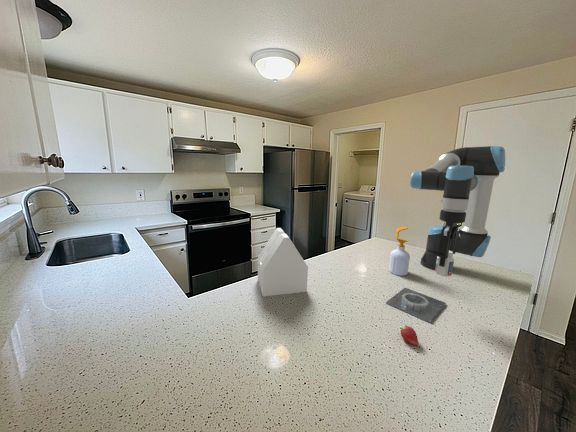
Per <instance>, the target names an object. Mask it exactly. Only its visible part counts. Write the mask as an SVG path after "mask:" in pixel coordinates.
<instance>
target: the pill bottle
mask: <svg viewBox="0 0 576 432" xmlns="http://www.w3.org/2000/svg"><path fill="white" fill-rule="evenodd" d="M453 256H454V254H453V252H452V251H449V253H448V263H447V269H446V275H445V276H444V275H441V274H438V273H436V272H437V266H438V260H439V257H438V256H437V261H436V268H435V270H434V272H435V274H436V275H439V276H441V277H447V278H449V277H451V276H452V275H453V269H454V265H455V264H454V263H455V258H453Z"/></svg>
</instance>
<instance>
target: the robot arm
mask: <svg viewBox="0 0 576 432" xmlns="http://www.w3.org/2000/svg"><path fill="white" fill-rule="evenodd" d="M505 167H506V149H505V148H504V146H498V145H496V146H495V145H487V146H469V147H468V146H467V147H466V146H465V147H464V146H463V147H459V148H456V149H452V150H450V151H447V152H446V153H444V154H442V155H441V156H440V157H439V158H438V160H437V161H435V163H433V164H431V166H429V167H427V168H426V169H425V170H414V171H413V172H412V173H411V174H410V178H409V185H410V187H411V188H412V189H416V190H426V191H427V190H429V191H441V192H442V191H443V194H442V199H440V201H439V202H440V203H441V206H440V207H441V209H440V211H439V212H440V213H439V220H441V221H442V222H445V224H444V225H433V226H430V227H429V229H428V233H427V237H426V238H427V239H426V246H425V251H424V252H423V254H422V257H421V258H420V263H419V264H420V265H421V266H423V267H424V268H428V269H430V270H434V271H435V268H436V261H437V256H438V257H439V260H438V266H437V272H436V273H435V274H437V273H438V274H441V275H444V276H443V277H446V276H445V275H446V269H447V263H448V253H449V251H452V252H453V255H456V253H457V254H460V255H465V256H469V257H474V258H475V257H476V258H483V257H484V255H485V253H486V251H487V248H488V247H489V245H490V241H491V240H492V237H491V235H489V232H488V230H487V228H486V222H487V220H488V219H487V218H488V214H489V213H488V212H489V207H490V203H491V197H492V192H493V186H494V180H495V179H496V178H499V177H500V173H504V172H505V169H506V168H505ZM459 224H463V225H462V226H460V227H459ZM438 274H437V275H438ZM441 275H440V276H441Z"/></svg>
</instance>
